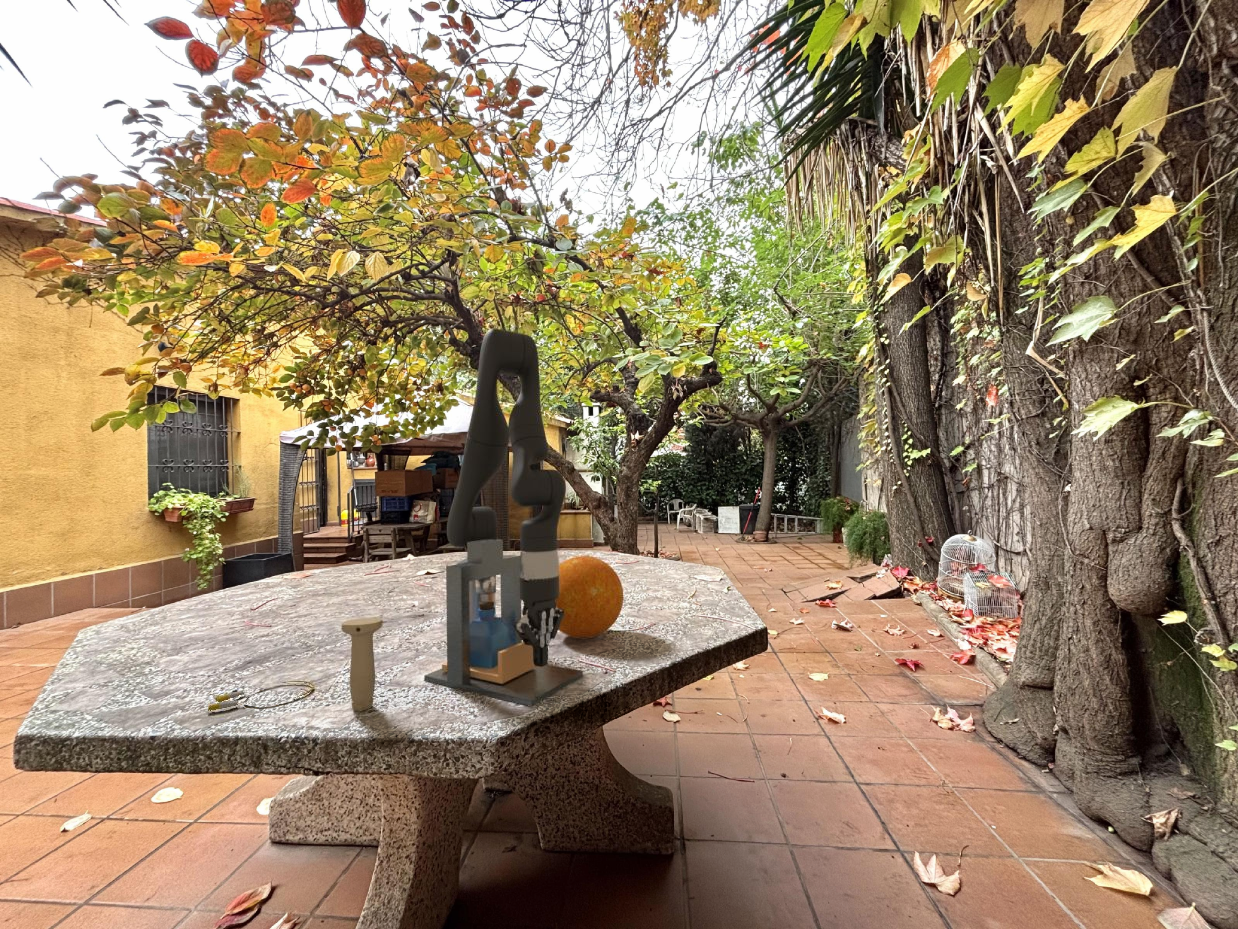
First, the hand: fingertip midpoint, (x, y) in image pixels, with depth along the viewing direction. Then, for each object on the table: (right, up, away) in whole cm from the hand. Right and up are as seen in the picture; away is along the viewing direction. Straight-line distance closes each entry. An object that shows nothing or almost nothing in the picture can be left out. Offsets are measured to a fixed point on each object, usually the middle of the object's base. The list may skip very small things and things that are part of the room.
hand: (540, 665), depth 101 cm
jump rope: (-51, -6, -3) cm, 51 cm away
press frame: (-8, -4, +4) cm, 10 cm away
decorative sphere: (+6, -5, +32) cm, 33 cm away
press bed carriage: (-11, -3, +6) cm, 13 cm away
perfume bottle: (-12, -2, +7) cm, 14 cm away
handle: (-30, -5, -9) cm, 31 cm away
